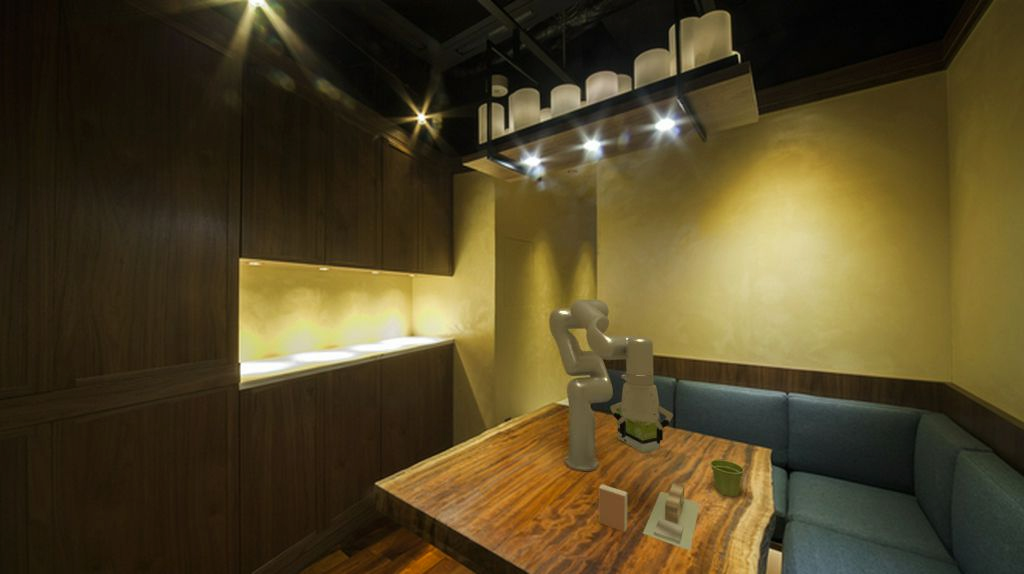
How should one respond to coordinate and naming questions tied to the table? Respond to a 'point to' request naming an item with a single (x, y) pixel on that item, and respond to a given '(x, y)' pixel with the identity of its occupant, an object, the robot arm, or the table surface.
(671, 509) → the turner
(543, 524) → the table surface
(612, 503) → the tile
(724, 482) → the plant pot
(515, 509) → the table surface
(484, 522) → the table surface
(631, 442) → the tea box
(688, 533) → the board
